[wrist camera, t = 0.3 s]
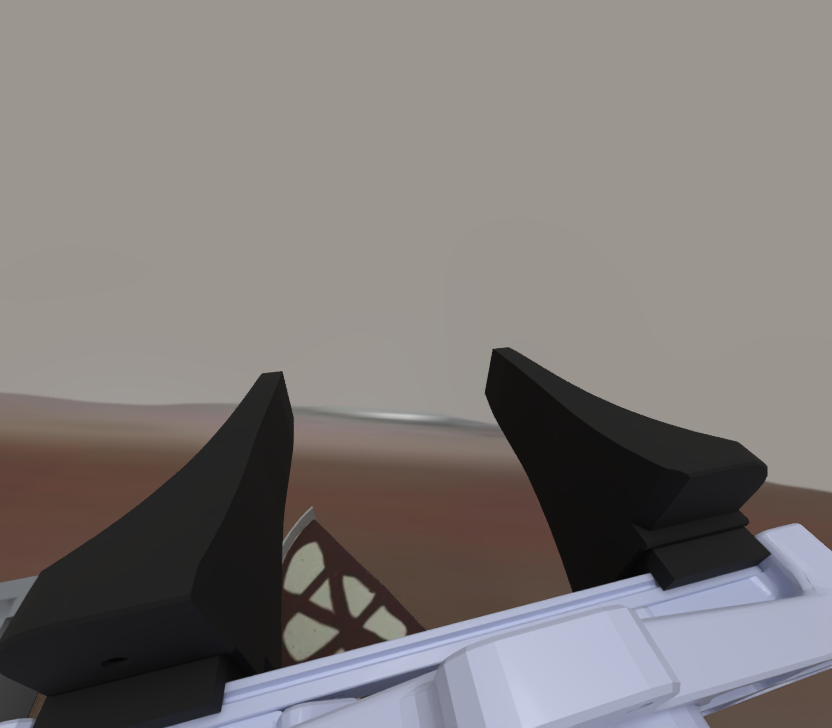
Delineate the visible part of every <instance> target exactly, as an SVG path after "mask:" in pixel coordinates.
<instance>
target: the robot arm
mask: <svg viewBox="0 0 832 728" xmlns="http://www.w3.org/2000/svg"><path fill="white" fill-rule="evenodd" d="M485 395H486V397H487V400H488V403H489V405H490V408H491V410H492V412H493V415H494V417H495V419H496V421H497V422H498V424H499V426H500V428H501V430H502V431H503V433H504V435H505V436H506V438H507V440H508V442H509V443H510V445H511V447H512V449H513V450H514V452H515V454H516V455H517V457H518V459H519V461H520V462H521V464H522V466H523V468H524V470H525V472H526V474H527V475H528V477H529V480H530V482H531V484H532V486H533V489H534V491H535V493H536V496H537V498H538V500H539V502H540V505H541V507H542V510H543V512H544V515H545V517H546V519H547V522H548V524H549V527H550V529H551V532H552V535H553V537H554V540H555V543H556V545H557V548H558V551H559V553H560V556H561V559H562V562H563V565H564V568H565V571H566V574H567V577H568V580H569V583H570V585H571V588H572V592H573V593H570V594H566V595H563V596H559V597H555V598H551V599H547V600H543V601H540V602H536V603H532V604H528V605H524V606H520V607H516V608H513V609H509V610H505V611H501V612H497V613H493V614H489V615H486V616H482V617H478V618H474V619H470V620H466V621H462V622H459V623H455V624H451V625H447V626H443V627H439V628H435V629H432V630H428V631H424V632H420V633H416V634H412V635H408V636H405V637H401V638H397V639H393V640H389V641H385V642H381V643H378V644H374V645H370V646H366V647H362V648H358V649H354V650H351V651H347V652H343V653H339V654H335V655H331V656H327V657H324V658H320V659H316V660H312V661H308V662H304V663H300V664H297V665H293V666H289V667H285V668H282V645H281V605H282V549H283V521H284V511H285V503H286V496H287V489H288V482H289V474H290V467H291V460H292V453H293V444H294V417H293V413H292V409H291V405H290V401H289V397H288V393H287V389H286V384H285V380H284V376H283V372H282V371H280V372H270V373H262V374H261V375H260V377H259V378H258V379H257V381H256V382H255V383H254V385H253V387H252V388H251V389H250V391H249V392H248V393H247V395H246V396H245V398H244V399H243V400H242V402H241V403H240V404H239V406H238V407H237V408H236V409H235V411H234V412H233V413H232V415H231V416H230V417H229V418H228V420H227V421H226V422H225V423H224V424H223V426H222V427H221V428H220V429H219V430H218V431H217V433H216V434H215V435H214V436H213V437H212V438H211V439H210V441H209V442H208V443H207V444H206V445H205V446H204V447H203V448H202V449H201V450H200V451H199V452H198V453H197V454H196V455H195V456H194V457H193V458H192V459H191V460H190V461H189V462H188V463H187V464H186V465H185V466H184V467H183V468H182V469H181V470H180V471H179V472H177V473H176V474H175V475H174V476H173V477H172V478H170V479H169V480H168V481H167V482H166V483H164V484H163V485H162V486H161V487H160V488H159V489H157V490H156V491H155V492H154V493H153V494H152V495H150V496H149V497H148V498H147V499H145V500H144V501H143V502H142V503H140V504H139V505H138V506H136V507H135V508H134V509H132V510H131V511H130V512H129V513H127V514H126V515H124V516H123V517H122V518H120V519H119V520H118V521H116V522H115V523H113V524H112V525H111V526H109V527H108V528H107V529H105V530H104V531H102V532H101V533H99V534H98V535H97V536H95V537H94V538H92V539H91V540H89V541H87V542H86V543H84V544H83V545H81V546H80V547H78V548H77V549H75V550H74V551H72V552H71V553H69V554H68V555H66V556H65V557H63V558H62V559H60V560H59V561H57V562H56V563H54V564H52V565H51V566H49V567H48V568H46V569H44V570H43V571H41V573H40V574H39V576H38V577H37V579H36V580H35V582H34V584H33V585H32V587H31V588H30V590H29V591H28V593H27V595H26V596H25V598H24V600H23V601H22V603H21V605H20V606H19V608H18V610H17V611H16V613H15V615H14V617H13V618H12V620H11V622H10V623H9V625H8V627H7V628H6V630H5V632H4V634H3V635H2V637H1V639H0V673H1V674H2V675H4V676H5V677H7V678H9V679H11V680H13V681H15V682H18V683H20V684H22V685H24V686H26V687H28V688H31V689H33V690H35V691H37V692H39V693H42V694H44V695H46V696H47V698H46V700H45V702H44V704H43V706H42V708H41V711H40V713H39V715H38V717H37V719H34V718H23V719H15V720H9V721H4V722H0V728H710V727H709V726H708V724H707V722H706V721H705V719H704V718H703V716H706V715H709V714H711V713H714V712H716V711H719V710H722V709H724V708H727V707H729V706H732V705H735V704H737V703H740V702H743V701H745V700H748V699H750V698H753V697H756V696H758V695H761V694H764V693H766V692H769V691H771V690H774V689H777V688H779V687H782V686H785V685H787V684H790V683H793V682H795V681H798V680H801V679H803V678H806V677H809V676H812V675H814V674H817V673H820V672H823V671H825V670H828V669H831V668H832V551H831V550H829V549H828V548H827V547H826V546H825V545H824V544H822V543H821V542H820V541H819V540H818V539H817V538H815V537H814V536H813V535H812V534H811V533H810V532H809V531H807V530H806V529H805V528H804V527H803V526H802V525H800V524H796V523H794V524H790V525H786V526H782V527H778V528H774V529H770V530H766V531H764V532H761V533H759V534H757V535H756V536H753V535H752V534H751V533H750V532H749V531H748V530H747V529H746V528H745V527H744V526H747V525H748V524H749V520H748V518H747V517H746V516H745V515H743V514H742V513H741V512H740V511H739V509H740V508H741V507H742V506H743V504H744V503H745V502H746V501H747V500H748V499H749V498H750V497H751V496H752V495H753V494H754V493H755V492H756V491H757V490H758V489H759V488H760V487H761V485H762V484H763V483H764V481H765V479H766V477H767V465H766V464H765V463H764V462H762V461H761V460H760V459H759V458H757V457H756V456H755V455H754V454H752V453H751V452H750V451H748V449H746V448H745V447H744V446H743V445H741V444H740V443H738V442H736V441H732V440H728V439H724V438H720V437H715V436H711V435H707V434H703V433H698V432H694V431H691V430H687V429H684V428H680V427H677V426H674V425H670V424H667V423H664V422H661V421H658V420H655V419H652V418H648V417H646V416H643V415H640V414H638V413H635V412H632V411H629V410H627V409H624V408H622V407H619V406H617V405H615V404H612V403H610V402H608V401H606V400H603V399H601V398H599V397H597V396H594V395H592V394H590V393H588V392H586V391H584V390H582V389H580V388H579V387H577V386H575V385H573V384H571V383H569V382H567V381H565V380H564V379H562V378H560V377H559V376H557V375H555V374H553V373H551V372H550V371H548V370H547V369H545V368H543V367H542V366H540V365H538V364H537V363H535V362H533V361H532V360H530V359H528V358H527V357H525V356H523V355H522V354H520V353H518V352H517V351H515V350H513V349H511V348H508V347H507V348H497V349H493V351H492V356H491V361H490V367H489V372H488V378H487V383H486V389H485ZM374 693H376V694H374ZM371 694H373V695H371ZM367 695H371V696H368V697H366V698H363V699H360V700H358V701H357V700H356V699H357V698H360V697H364V696H367Z"/></svg>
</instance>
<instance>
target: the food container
mask: <svg viewBox="0 0 832 728" xmlns="http://www.w3.org/2000/svg"><path fill="white" fill-rule="evenodd" d="M424 631H426V630H425V629H424V628H423V627H422V626H421V625H420V624H419V623H418V622H417V621H416V620H415V619H414V617H413V616H412V615H411V614H410V613H409V612H408V611H407V610H406V609H405V608H404V607H403V606H402V605H401V604H400V603H399V602H398V600H397V599H396V598H395V597H394V596H393V595H392V594H391V593H390V592H389V591H388V590H387V589H386V588H385V587H384V585H382V584H381V583H380V582H379V581H378V580H377V579H376V578H375V577H374V576H373V575H371V574H370V573H369V572H368V571H367V570H366V569H365V568H364V567H363V566H362V565H361V564H360V563H359V562H357V561H356V560H355V559H354V558H353V557H352V556H351V555H350V554H349V553H348V552H347V551H346V550H345V549H344V548H343V547H342V546H341V545H340V544H339V543H338V542H337V541H336V540H335V539H334V538H333V537H332V536H331V535H330V534H329V533H328V532H327V531H326V530H325V529H324V528H323V527H322V526H321V525H320V524H319V523H318V522H317V520H316V517H315V513H314V510H313V507H311V508H310V509H309V510H308V511H307V512H306V513H305V514H304V515H303V516H302V517H301V518H300V519H299V520H298V521H297V523H296V524H295V525H294V527H293V528H292V529H291V530H290V532H289V533H288V535H287V536H286V538H285V540H284V541H283V549H282V605H281V645H282V668H285V667H289V666H293V665H297V664H300V663H304V662H308V661H312V660H316V659H320V658H324V657H327V656H331V655H335V654H339V653H343V652H347V651H351V650H354V649H358V648H362V647H366V646H370V645H374V644H378V643H381V642H385V641H389V640H393V639H397V638H401V637H405V636H408V635H412V634H416V633H420V632H424ZM374 694H376V693H374ZM371 695H373V694H371ZM371 695H367V696H364V697H360V698H357V699H356V700H357V701H358V700H360V699H363V698H366V697H368V696H371Z"/></svg>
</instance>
